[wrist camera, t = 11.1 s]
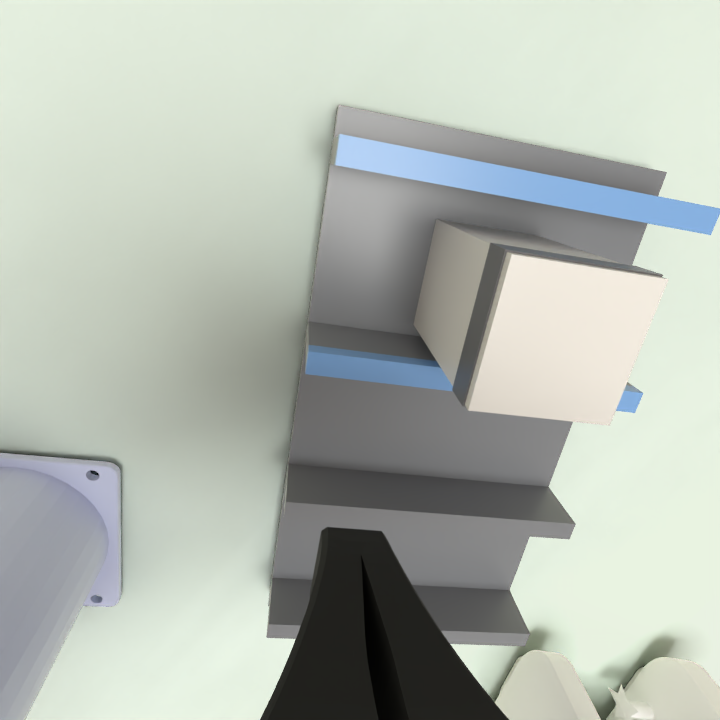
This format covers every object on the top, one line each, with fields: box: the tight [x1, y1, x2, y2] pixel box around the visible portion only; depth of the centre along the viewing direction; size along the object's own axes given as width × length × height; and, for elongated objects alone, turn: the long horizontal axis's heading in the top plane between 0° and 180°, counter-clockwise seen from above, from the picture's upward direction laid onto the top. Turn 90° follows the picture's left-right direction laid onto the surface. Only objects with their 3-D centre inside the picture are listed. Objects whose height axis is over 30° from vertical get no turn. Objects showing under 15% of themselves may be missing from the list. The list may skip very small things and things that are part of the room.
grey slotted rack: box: [267, 105, 720, 646], centre depth 20 cm, size 12×22×4 cm, turn 170°
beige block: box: [413, 219, 669, 425], centre depth 15 cm, size 4×4×7 cm
